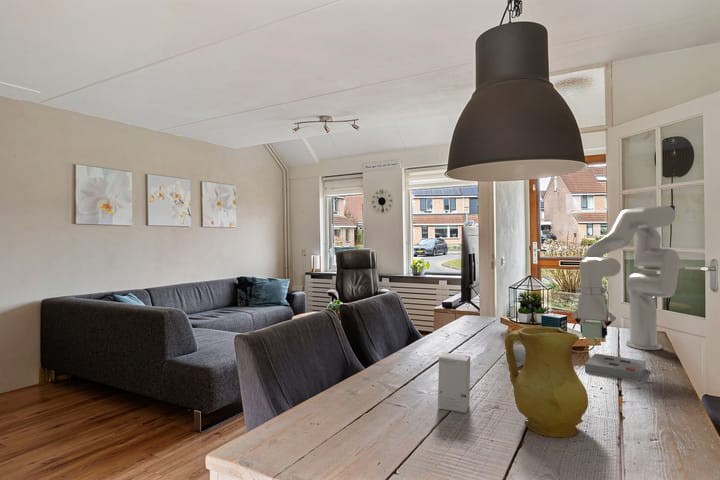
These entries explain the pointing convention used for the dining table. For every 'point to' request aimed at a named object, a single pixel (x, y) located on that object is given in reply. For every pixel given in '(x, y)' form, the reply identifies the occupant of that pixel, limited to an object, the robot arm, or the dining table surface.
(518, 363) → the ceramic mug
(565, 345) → the pitcher
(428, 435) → the dining table surface
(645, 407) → the dining table surface
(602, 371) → the socket plate
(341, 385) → the dining table surface
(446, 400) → the skincare box
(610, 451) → the dining table surface
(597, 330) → the plug
